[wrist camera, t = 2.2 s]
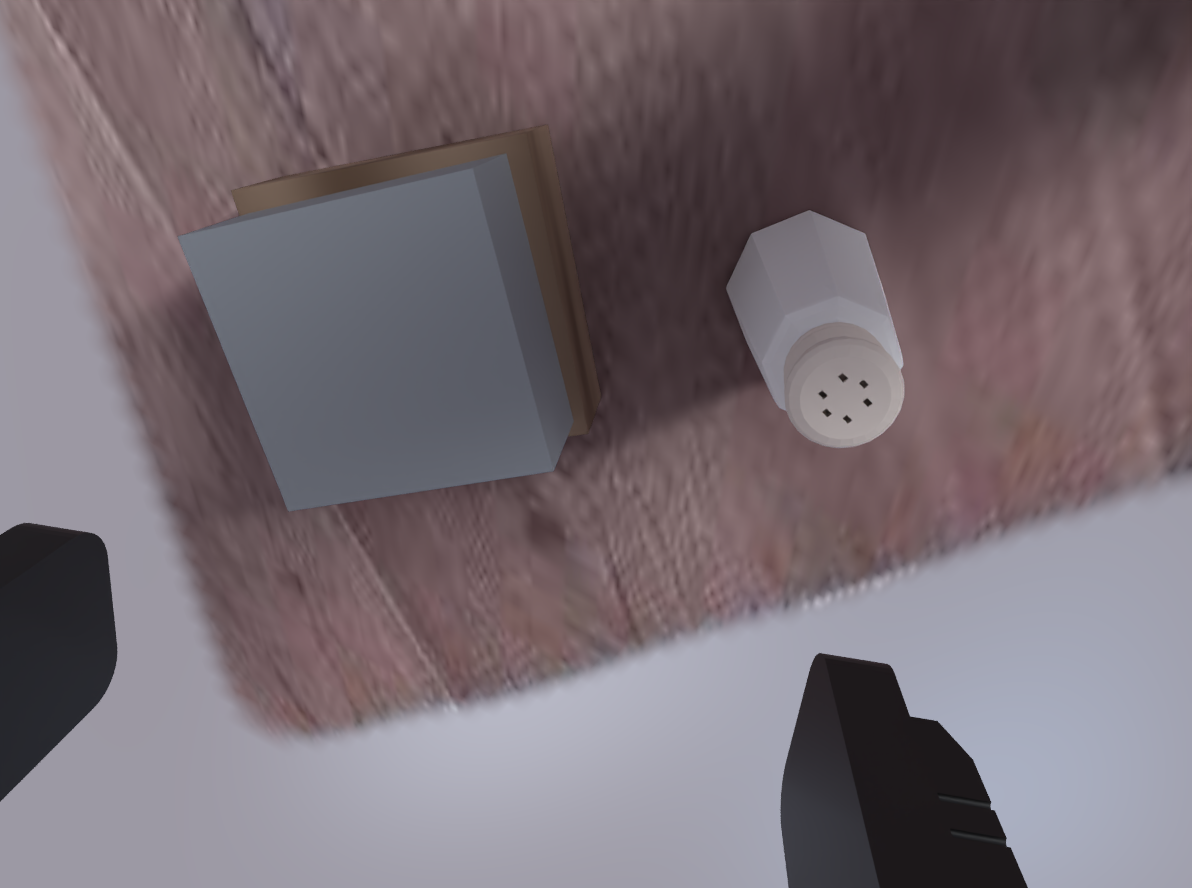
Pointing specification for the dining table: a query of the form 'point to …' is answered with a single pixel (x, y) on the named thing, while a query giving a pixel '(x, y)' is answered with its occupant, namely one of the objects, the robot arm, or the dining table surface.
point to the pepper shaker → (820, 328)
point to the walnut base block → (541, 221)
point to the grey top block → (388, 336)
